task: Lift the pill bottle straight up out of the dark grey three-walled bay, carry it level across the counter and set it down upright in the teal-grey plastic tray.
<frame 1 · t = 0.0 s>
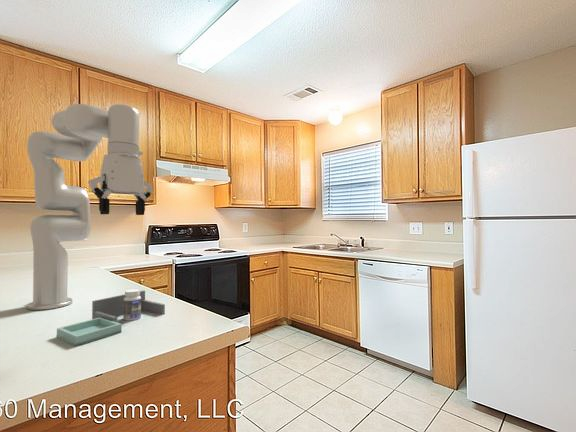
hand: (123, 214, 83), 31 cm above the countertop, fingers open, 9 cm apart
bay: (130, 317, 93), on the countertop
pill bottle: (132, 319, 92), on the countertop
tray: (89, 334, 79), on the countertop
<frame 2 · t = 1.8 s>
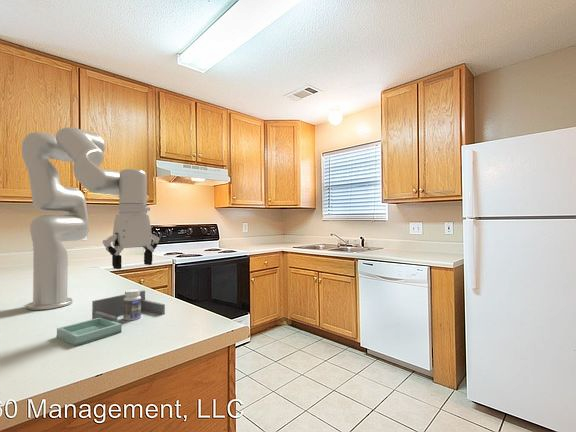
hand: (133, 266, 92), 16 cm above the countertop, fingers open, 9 cm apart
nothing on the countertop moved.
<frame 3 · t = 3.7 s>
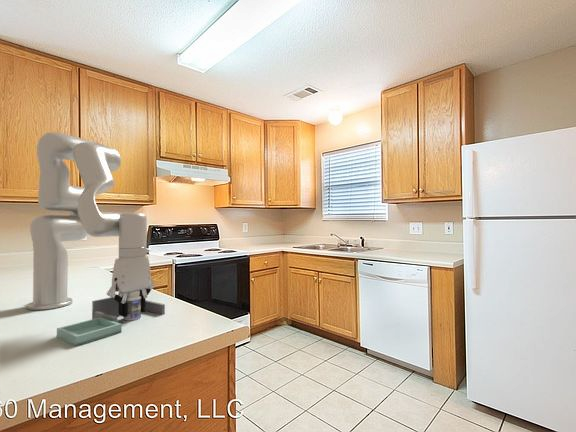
hand: (132, 312, 92), 2 cm above the countertop, fingers closed on pill bottle, 4 cm apart
pill bottle: (132, 318, 92), on the countertop, touching gripper
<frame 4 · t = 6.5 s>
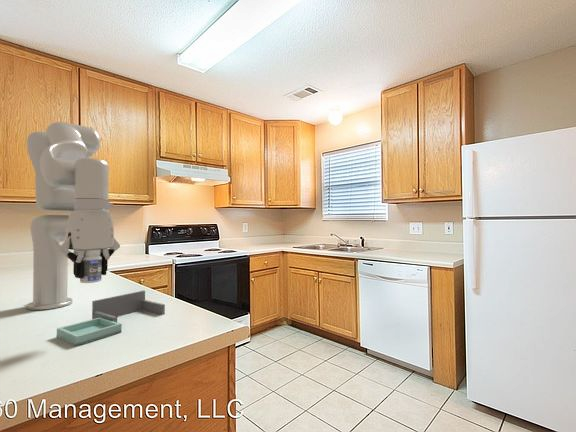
hand: (90, 275, 80), 15 cm above the countertop, fingers closed on pill bottle, 4 cm apart
pill bottle: (91, 282, 79), point 13 cm above the countertop, touching gripper
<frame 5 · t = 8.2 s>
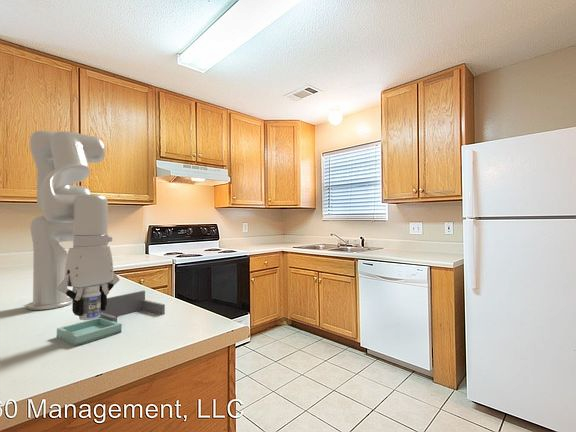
hand: (90, 311, 79), 6 cm above the countertop, fingers closed on pill bottle, 4 cm apart
pill bottle: (90, 318, 79), point 4 cm above the countertop, touching gripper
when the fingers open (3 cm above the countertop, at t = 9.5 s): pill bottle drops 1 cm, resting on tray.
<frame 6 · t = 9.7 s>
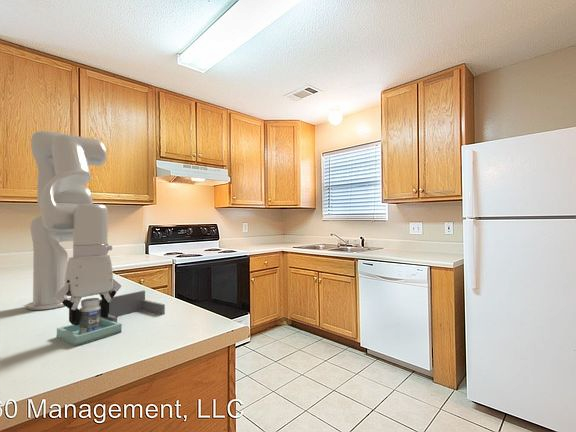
hand: (89, 319, 79), 4 cm above the countertop, fingers open, 6 cm apart
pill bottle: (90, 332, 79), resting on tray
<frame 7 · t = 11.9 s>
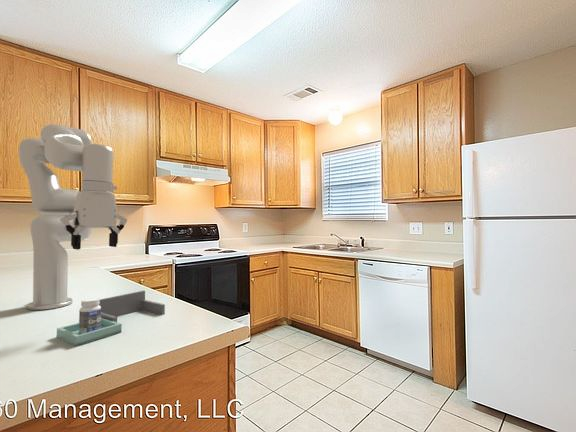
hand: (95, 247, 88), 22 cm above the countertop, fingers open, 9 cm apart
nothing on the countertop moved.
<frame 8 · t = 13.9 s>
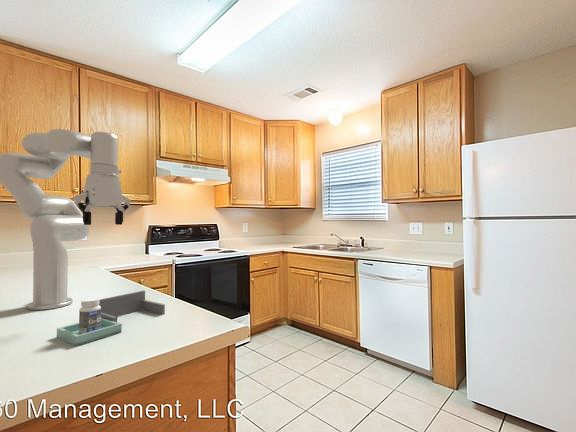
hand: (103, 224, 98), 28 cm above the countertop, fingers open, 9 cm apart
nothing on the countertop moved.
at the end: pill bottle inside the target area on the tray (0.2 cm from its centre), point 0.4 cm above the tray's base; pill bottle tilted 0°; the gripper is holding nothing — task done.
